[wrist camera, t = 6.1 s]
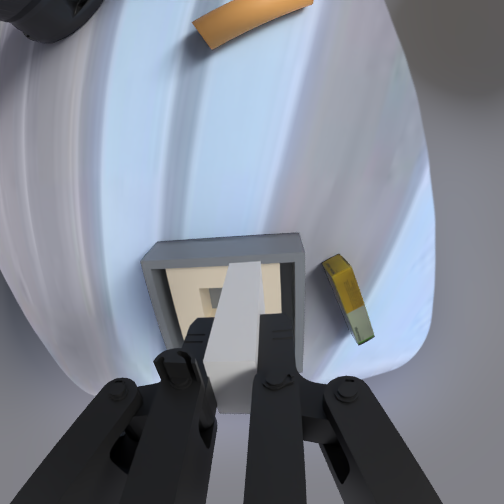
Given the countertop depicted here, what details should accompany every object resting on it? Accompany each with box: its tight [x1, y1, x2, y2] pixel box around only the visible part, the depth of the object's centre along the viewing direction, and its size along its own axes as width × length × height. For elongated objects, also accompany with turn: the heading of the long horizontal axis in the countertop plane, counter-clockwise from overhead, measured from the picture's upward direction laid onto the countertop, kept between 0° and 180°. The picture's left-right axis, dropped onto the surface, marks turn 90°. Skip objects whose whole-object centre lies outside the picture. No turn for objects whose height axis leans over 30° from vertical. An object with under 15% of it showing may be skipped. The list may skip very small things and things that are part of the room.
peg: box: [192, 0, 313, 50], centre depth 21 cm, size 4×4×12 cm
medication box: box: [322, 253, 375, 345], centre depth 34 cm, size 12×3×4 cm, turn 27°
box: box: [140, 233, 305, 373], centre depth 34 cm, size 17×17×6 cm
